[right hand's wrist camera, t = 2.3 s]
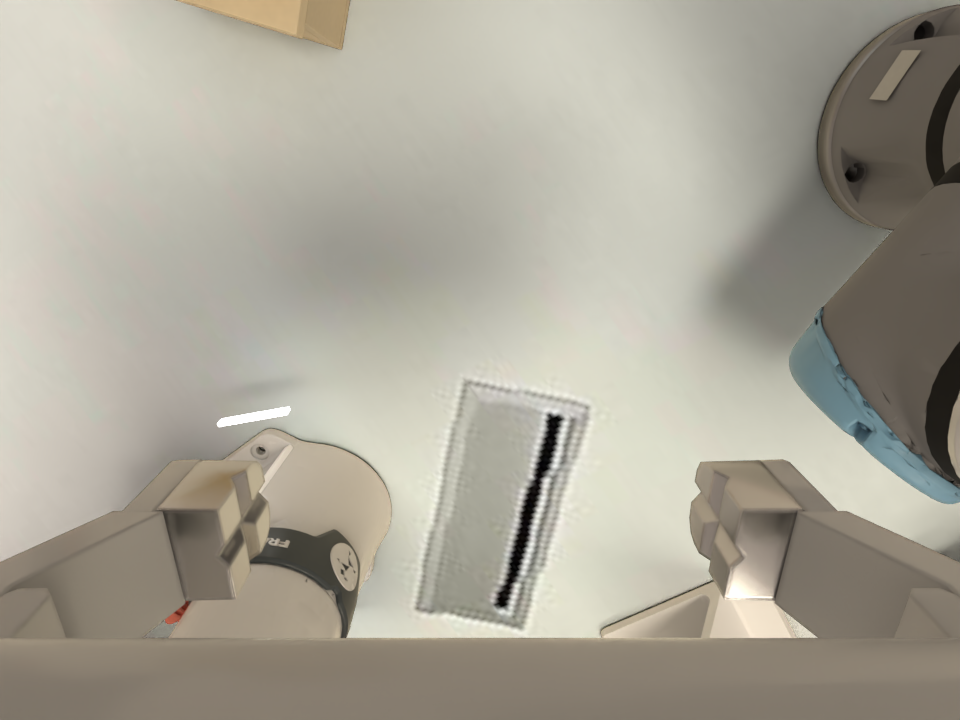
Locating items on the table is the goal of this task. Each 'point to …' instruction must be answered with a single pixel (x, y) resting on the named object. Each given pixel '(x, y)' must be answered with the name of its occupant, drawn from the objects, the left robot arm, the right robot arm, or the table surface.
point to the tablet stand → (705, 618)
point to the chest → (326, 22)
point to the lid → (261, 13)
